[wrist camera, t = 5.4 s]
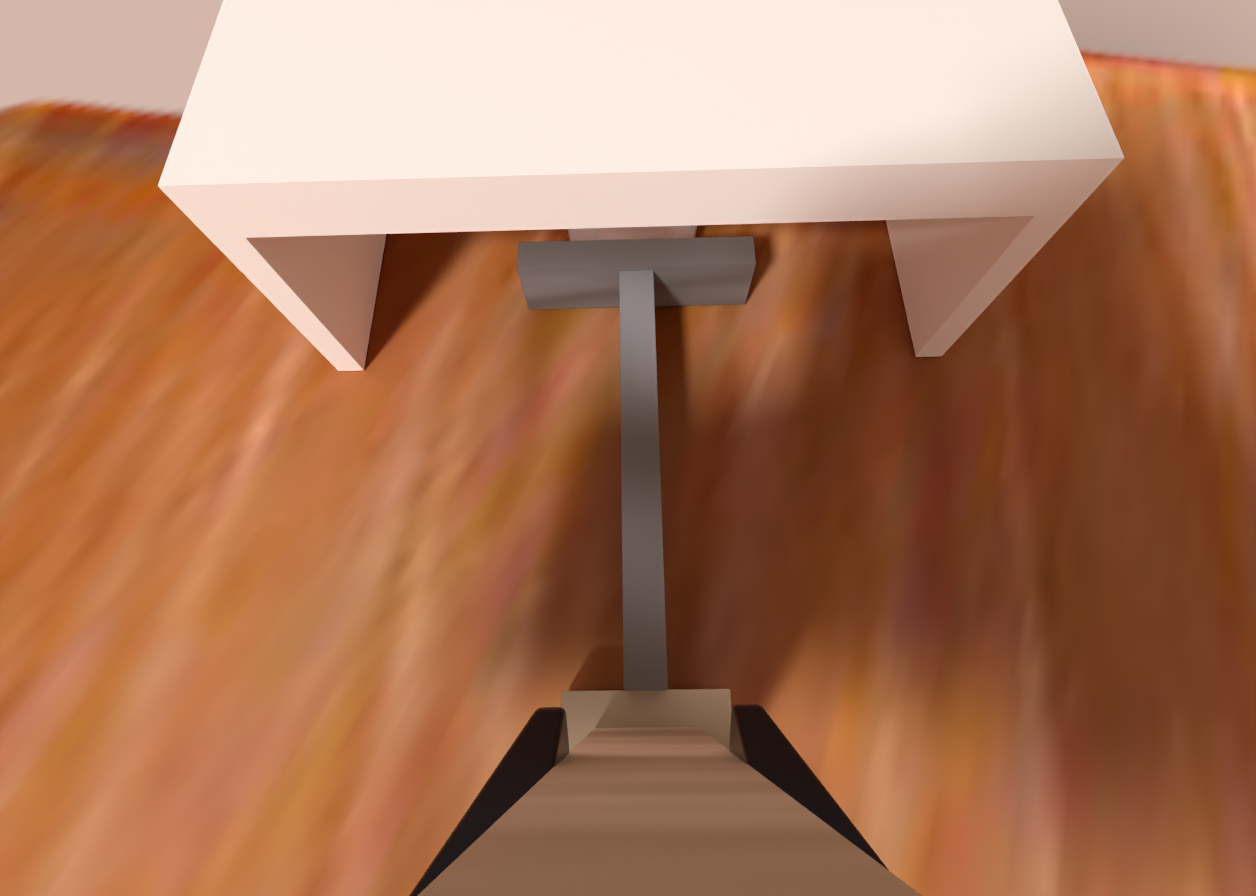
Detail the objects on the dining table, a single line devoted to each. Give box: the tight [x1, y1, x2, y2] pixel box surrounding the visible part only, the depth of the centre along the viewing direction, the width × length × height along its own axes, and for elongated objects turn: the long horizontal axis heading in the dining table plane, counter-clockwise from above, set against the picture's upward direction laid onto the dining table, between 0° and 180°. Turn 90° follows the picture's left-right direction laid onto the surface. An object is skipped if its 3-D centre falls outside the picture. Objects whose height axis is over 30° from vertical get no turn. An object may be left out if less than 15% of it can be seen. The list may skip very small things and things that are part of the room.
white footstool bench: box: [158, 0, 1125, 371], centre depth 17 cm, size 8×19×8 cm, turn 91°
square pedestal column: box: [418, 236, 922, 896], centre depth 11 cm, size 16×7×13 cm, turn 1°
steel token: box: [568, 225, 697, 241], centre depth 20 cm, size 4×4×1 cm
